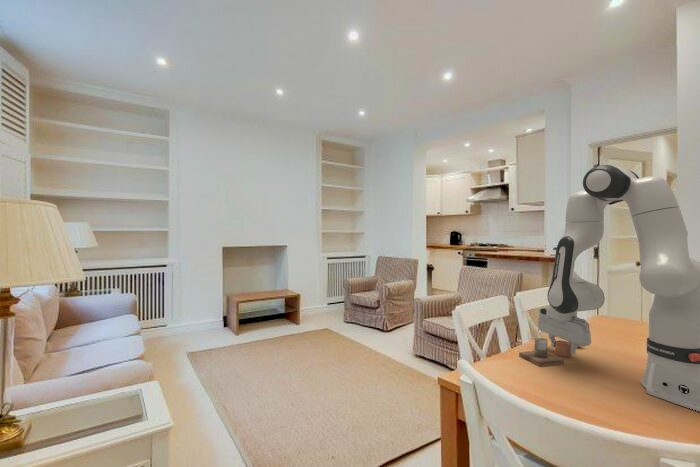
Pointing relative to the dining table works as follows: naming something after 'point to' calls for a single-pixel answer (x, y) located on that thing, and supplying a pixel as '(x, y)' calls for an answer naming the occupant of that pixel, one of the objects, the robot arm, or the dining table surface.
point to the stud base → (541, 360)
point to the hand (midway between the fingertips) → (562, 350)
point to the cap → (563, 348)
